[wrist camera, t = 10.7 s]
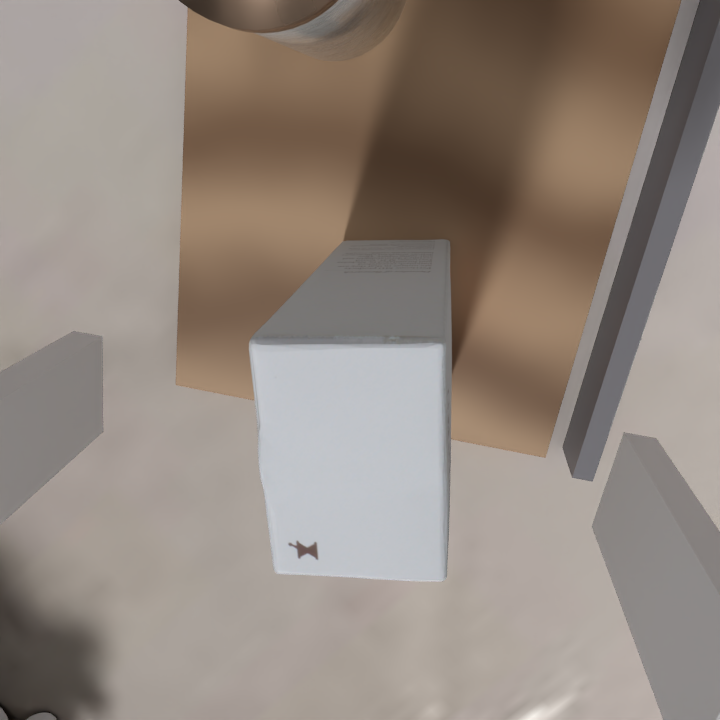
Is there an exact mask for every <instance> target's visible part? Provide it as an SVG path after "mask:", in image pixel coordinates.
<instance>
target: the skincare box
mask: <svg viewBox="0 0 720 720" xmlns="http://www.w3.org/2000/svg"><path fill="white" fill-rule="evenodd" d="M249 355H250V364H251V373H252V382H253V390H254V400H255V409H256V418H257V429H258V461H259V471H260V478H261V483H262V486H263V490H264V496H265V504H266V513H267V520H268V527H269V535H270V544H271V552H272V560H273V568H274V571H275V572H276V573H278V574H294V575H315V576H335V577H351V578H365V579H384V580H400V581H431V582H435V581H444V580H445V579H446V577H447V560H448V538H449V511H450V465H451V395H452V322H451V280H450V241H449V240H445V239H436V240H354V241H343V242H342V243H341V244H340V245H339V246H338V247H337V248H336V249H335V250H334V251H333V252H332V253H331V254H330V255H329V256H328V257H327V259H326V260H325V261H324V262H323V263H322V264H321V265H320V266H319V267H318V268H317V269H316V270H315V271H314V272H313V274H312V275H311V276H310V277H309V278H308V279H307V280H306V281H305V282H304V283H303V284H302V285H301V286H300V288H299V289H298V290H297V291H296V292H295V293H294V294H293V295H292V296H291V297H290V298H289V299H288V300H287V301H286V302H285V303H284V304H283V305H282V306H281V307H280V308H279V310H278V311H277V312H276V313H275V314H274V315H273V316H272V317H271V318H270V319H269V320H268V321H267V322H266V323H265V324H264V325H263V326H262V327H261V328H260V329H259V330H258V331H257V332H256V333H255V334H254V335H253V336H252V337H251V339H250V342H249Z"/></svg>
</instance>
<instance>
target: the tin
mask: <svg viewBox="0 0 720 720" xmlns="http://www.w3.org/2000/svg"><path fill="white" fill-rule="evenodd" d="M179 1H180V2H182V3H183V4H184V5H186V6H187V7H188V8H190V9H191V10H192V11H194V12H196V13H197V14H199V15H201V16H203V17H205V18H206V19H208V20H211V21H213V22H216V23H218V24H221V25H224V26H226V27H229V28H232V29H235V30H240V31H244V32H250V33H255V34H258V35H260V36H262V37H265V38H267V39H269V40H272V41H274V42H277V43H279V44H281V45H284V46H286V47H289V48H291V49H293V50H296V51H298V52H301V53H303V54H305V55H308V56H310V57H313V58H316V59H320V60H324V61H345V60H350V59H354V58H356V57H359V56H362V55H364V54H365V53H367V52H369V51H371V50H372V49H374V48H375V47H376V46H378V45H379V44H380V43H381V42H382V41H383V40H384V39H385V38H386V37H387V36H388V34H389V33H390V32H391V31H392V29H393V28H394V26H395V25H396V23H397V21H398V20H399V18H400V15H401V13H402V11H403V9H404V6H405V3H406V0H179Z"/></svg>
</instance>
